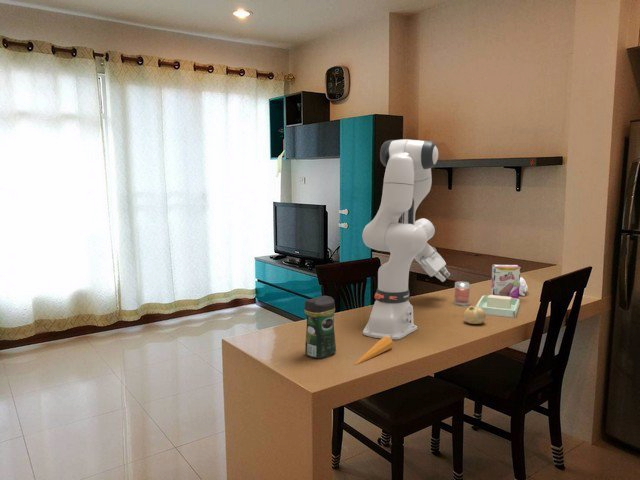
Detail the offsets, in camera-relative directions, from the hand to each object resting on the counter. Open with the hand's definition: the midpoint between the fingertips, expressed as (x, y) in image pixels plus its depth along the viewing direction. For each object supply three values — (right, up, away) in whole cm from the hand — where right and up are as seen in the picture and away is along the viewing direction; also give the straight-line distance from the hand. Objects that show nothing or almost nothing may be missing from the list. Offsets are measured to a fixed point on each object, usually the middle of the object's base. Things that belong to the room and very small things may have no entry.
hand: (446, 278), depth 215 cm
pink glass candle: (+6, -12, -2) cm, 13 cm away
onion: (+4, -15, -26) cm, 30 cm away
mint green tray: (+19, -13, -10) cm, 25 cm away
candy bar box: (+27, -11, +4) cm, 29 cm away
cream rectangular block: (+21, -11, -6) cm, 24 cm away
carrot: (-39, -20, -59) cm, 73 cm away
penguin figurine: (+39, -9, +18) cm, 44 cm away
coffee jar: (-55, -20, -57) cm, 82 cm away
